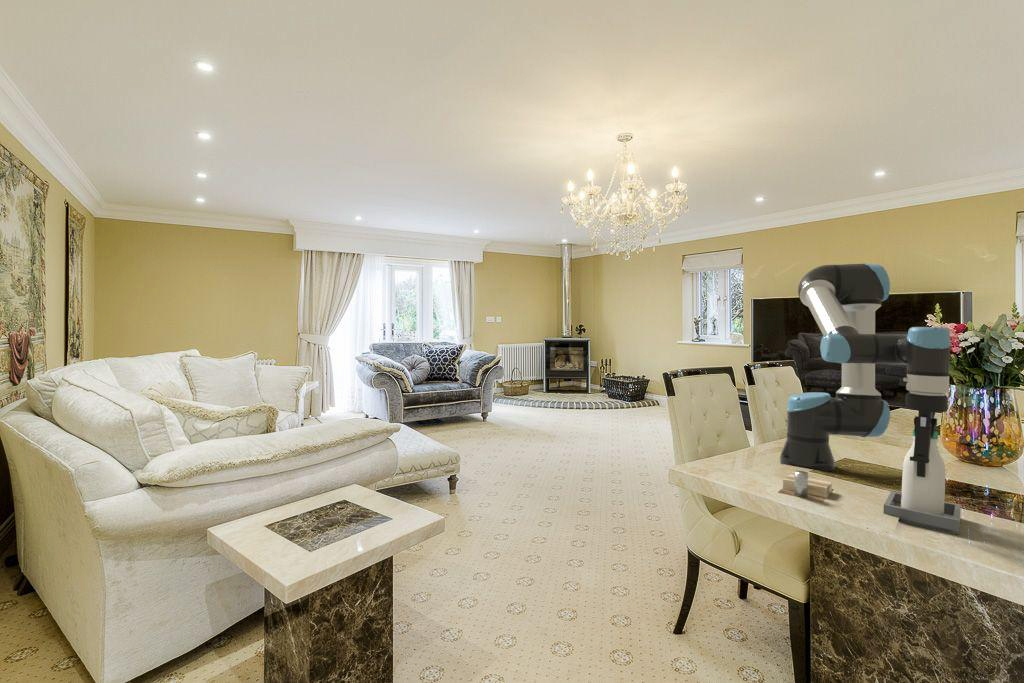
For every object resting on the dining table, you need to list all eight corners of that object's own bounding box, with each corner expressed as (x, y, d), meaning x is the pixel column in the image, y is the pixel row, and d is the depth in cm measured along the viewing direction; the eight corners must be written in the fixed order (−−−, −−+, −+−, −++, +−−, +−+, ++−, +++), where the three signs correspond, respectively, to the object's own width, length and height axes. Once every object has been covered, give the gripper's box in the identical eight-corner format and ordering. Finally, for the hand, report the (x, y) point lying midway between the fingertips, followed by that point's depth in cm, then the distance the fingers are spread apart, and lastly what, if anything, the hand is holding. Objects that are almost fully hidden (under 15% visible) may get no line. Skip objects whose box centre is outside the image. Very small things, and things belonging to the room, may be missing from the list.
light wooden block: (789, 483, 135) (789, 474, 135) (831, 492, 128) (831, 482, 128) (782, 488, 131) (783, 479, 131) (826, 497, 124) (826, 488, 124)
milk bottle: (952, 522, 110) (956, 434, 109) (913, 519, 111) (916, 432, 110) (930, 509, 117) (933, 427, 116) (893, 507, 119) (897, 425, 118)
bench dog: (795, 492, 127) (796, 470, 127) (808, 495, 125) (809, 472, 125) (792, 495, 125) (793, 472, 125) (805, 498, 123) (806, 475, 123)
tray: (890, 503, 123) (891, 491, 123) (960, 518, 114) (960, 504, 114) (883, 518, 114) (883, 504, 114) (958, 535, 105) (959, 520, 105)
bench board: (791, 484, 137) (792, 480, 137) (833, 493, 130) (833, 489, 130) (777, 496, 128) (777, 492, 128) (821, 506, 121) (821, 502, 121)
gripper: (911, 386, 124) (908, 468, 125) (899, 396, 107) (896, 492, 107) (950, 389, 119) (947, 475, 120) (945, 400, 101) (941, 501, 102)
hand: (923, 483), depth 114 cm, fingers open, 13 cm apart
